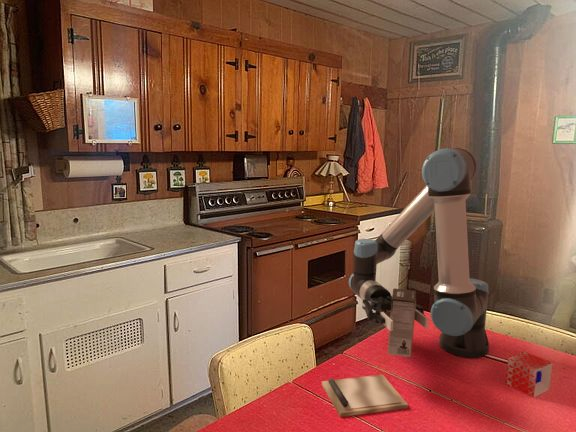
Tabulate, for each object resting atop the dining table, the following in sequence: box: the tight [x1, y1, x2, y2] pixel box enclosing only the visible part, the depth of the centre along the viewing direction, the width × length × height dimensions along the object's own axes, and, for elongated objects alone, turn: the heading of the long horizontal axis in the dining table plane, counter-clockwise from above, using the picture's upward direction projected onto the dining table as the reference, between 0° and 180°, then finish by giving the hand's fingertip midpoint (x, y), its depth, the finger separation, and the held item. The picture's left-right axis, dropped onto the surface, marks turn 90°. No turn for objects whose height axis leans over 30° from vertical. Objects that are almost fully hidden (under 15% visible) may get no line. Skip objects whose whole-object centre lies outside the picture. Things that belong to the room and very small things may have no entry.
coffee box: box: [387, 288, 417, 358], centre depth 126 cm, size 9×6×16 cm
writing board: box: [321, 374, 409, 418], centre depth 120 cm, size 18×15×3 cm
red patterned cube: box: [505, 351, 553, 398], centre depth 125 cm, size 8×8×8 cm
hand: (409, 324), depth 122 cm, fingers closed on coffee box, 9 cm apart
